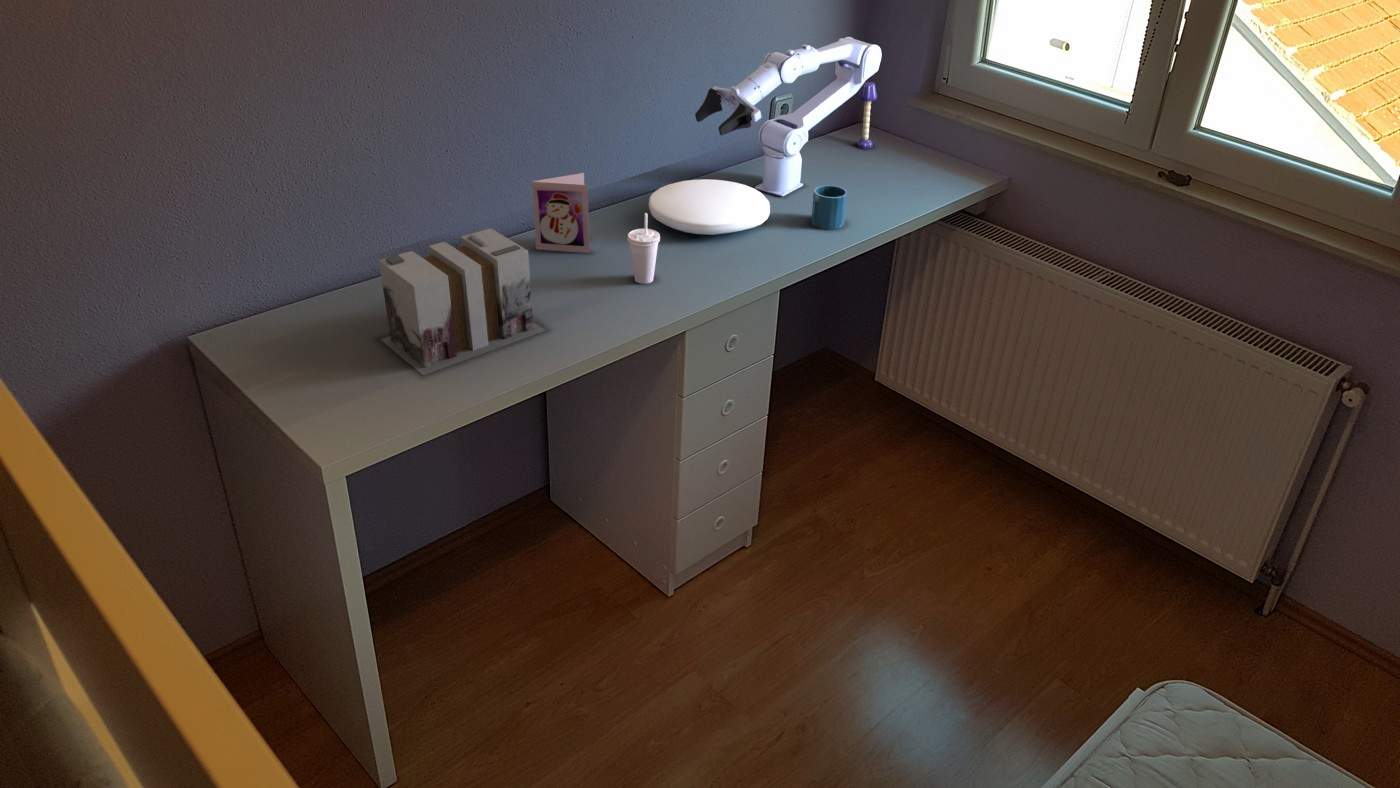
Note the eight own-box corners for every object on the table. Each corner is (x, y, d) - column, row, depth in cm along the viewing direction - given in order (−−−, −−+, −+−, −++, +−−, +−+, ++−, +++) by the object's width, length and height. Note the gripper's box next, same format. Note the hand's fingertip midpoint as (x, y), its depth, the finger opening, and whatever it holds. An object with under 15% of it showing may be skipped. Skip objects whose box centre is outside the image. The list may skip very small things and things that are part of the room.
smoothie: (666, 280, 214) (667, 215, 207) (642, 289, 210) (641, 223, 203) (645, 269, 218) (645, 205, 211) (621, 278, 214) (620, 213, 207)
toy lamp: (856, 149, 282) (862, 85, 273) (852, 143, 285) (858, 80, 276) (874, 148, 282) (881, 85, 273) (870, 142, 286) (877, 80, 277)
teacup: (822, 214, 244) (825, 182, 240) (850, 222, 241) (853, 190, 237) (805, 223, 239) (807, 192, 235) (833, 232, 236) (836, 200, 232)
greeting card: (535, 250, 224) (530, 183, 216) (543, 236, 231) (539, 169, 222) (588, 254, 223) (586, 186, 215) (595, 240, 230) (593, 173, 222)
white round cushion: (701, 166, 255) (794, 195, 241) (698, 193, 258) (791, 222, 244) (624, 188, 234) (722, 220, 221) (622, 217, 237) (719, 250, 224)
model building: (380, 339, 192) (366, 256, 183) (500, 299, 206) (493, 220, 197) (423, 375, 182) (411, 290, 173) (546, 330, 196) (541, 249, 187)
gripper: (727, 63, 239) (682, 98, 235) (772, 87, 231) (727, 123, 227) (732, 88, 244) (689, 122, 241) (777, 113, 237) (733, 148, 233)
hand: (708, 124), depth 234 cm, fingers open, 7 cm apart
